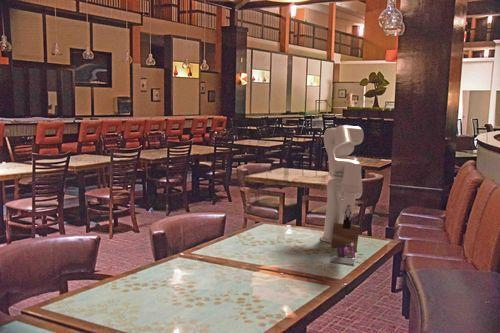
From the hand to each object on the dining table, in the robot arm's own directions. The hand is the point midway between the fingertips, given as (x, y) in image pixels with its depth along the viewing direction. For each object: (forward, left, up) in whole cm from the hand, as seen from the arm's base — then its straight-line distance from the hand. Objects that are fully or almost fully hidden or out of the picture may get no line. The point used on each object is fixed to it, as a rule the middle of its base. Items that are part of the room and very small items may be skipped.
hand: (346, 226), depth 232 cm
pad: (+8, 0, -14) cm, 16 cm away
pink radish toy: (0, 0, -14) cm, 14 cm away
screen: (-12, 0, -14) cm, 18 cm away
